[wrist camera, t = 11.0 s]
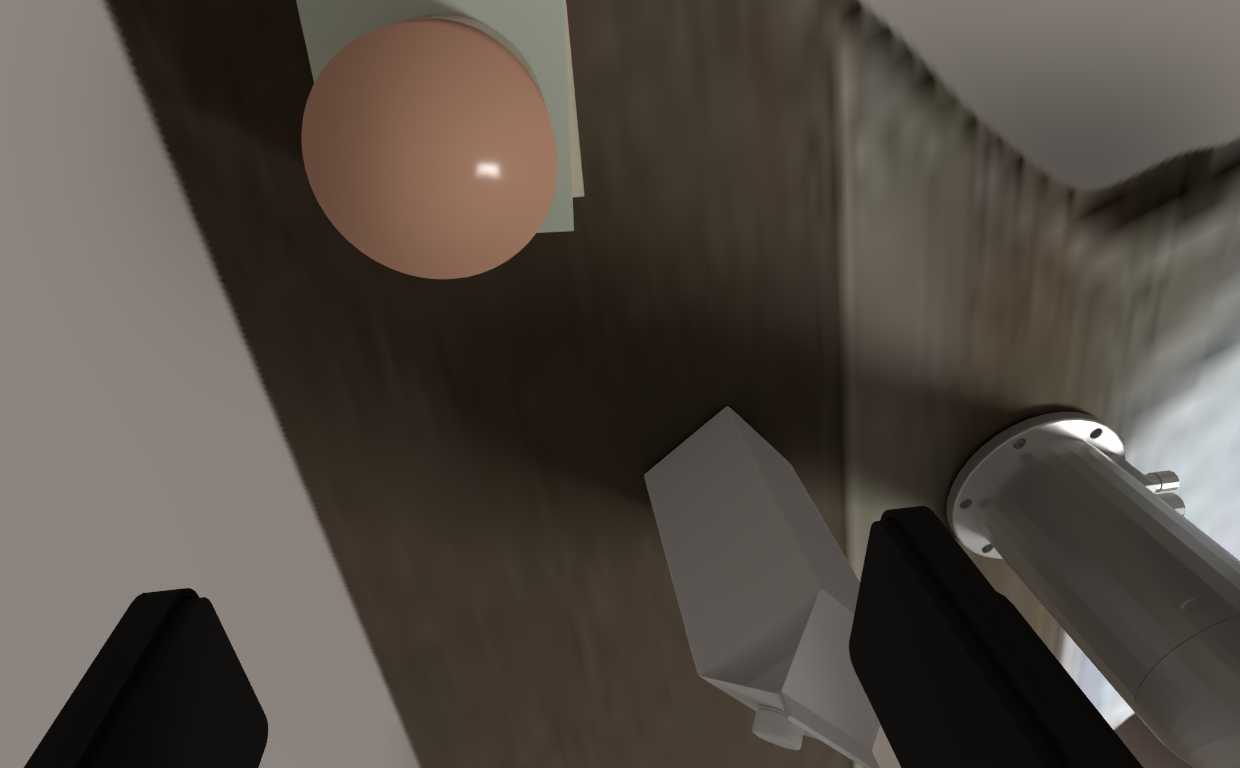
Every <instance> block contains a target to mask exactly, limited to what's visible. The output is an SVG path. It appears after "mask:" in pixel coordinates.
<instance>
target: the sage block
mask: <svg viewBox="0 0 1240 768" xmlns="http://www.w3.org/2000/svg"><path fill="white" fill-rule="evenodd" d="M296 2H297V7H298V11H299V16H300V20H301V25H302V30H303V34H304V39H305V43H306V48H307V52H308V57H309V62H310V66H311V71H312V75H313V80H314V83H315V81H316V80H317V78H318V76H319V75H320V73H321V71H322V70H323V69H324V67H325V66H326V65H327V64H328V63H329V61H330V60H331V59H332V58H333V57H334V56H335V55H336V54H337V53H338V52H339V51H340V50H342V49H343V48H344V47H345V46H346V45H348V44H349V43H351V42H353V41H354V40H356V39H357V38H359V37H360V36H363V35H365V34H367V33H370V32H372V31H374V30H377V29H380V28H383V27H387V26H390V25H394V24H397V23H401V22H404V21H408V20H411V19H415V18H418V17H422V16H426V15H434V14H454V15H459V16H465V17H468V18H471V19H474V20H477V21H480V22H482V23H484V24H486V25H488V26H490V27H492V28H493V29H495V30H496V31H498V32H499V33H501V34H502V35H503V36H505V37H506V38H507V39H508V40H509V41H510V42H512V43H513V44H514V46H515V47H516V48H517V49H518V50H519V51H520V52H521V53H522V55H523V56H524V58H525V59H526V60H527V62H528V63H529V65H530V67H531V68H532V70H533V72H534V74H535V76H536V78H537V81H538V83H539V86H540V89H541V92H542V95H543V99H544V102H545V105H546V109H547V112H548V115H549V119H550V122H551V126H552V129H553V133H554V137H555V142H556V150H557V180H556V187H555V192H554V195H553V199H552V203H551V206H550V208H549V210H548V213H547V215H546V218H545V219H544V221H543V223H542V225H541V226H540V228H539V230H538V231H537V232H536V233H543V232H563V231H574V219H573V196H572V174H571V151H570V129H569V106H568V83H567V61H566V38H565V15H564V0H296Z"/></svg>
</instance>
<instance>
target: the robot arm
mask: <svg viewBox="0 0 1240 768" xmlns="http://www.w3.org/2000/svg"><path fill="white" fill-rule="evenodd" d="M1178 487H1179V479H1178V476H1177V475H1176V474H1175V473H1174V472H1172V471H1170V470H1168V471H1161V472H1154V473H1148V474H1146V475H1143V474H1142V473H1141V472H1140V471H1138V470H1137V469H1136V468H1134V467H1133V466H1132V465H1131V464H1129V463H1128V462H1127V461H1125V450H1124V446H1123V442H1122V441H1121V439H1120V438H1119V436H1118V435H1117V433H1116V432H1115V431H1114V430H1112V429H1111V428H1110V427H1109V426H1107V425H1106V424H1105V423H1104V422H1102V421H1100V420H1099V419H1097V418H1095V417H1093V416H1091V415H1087V414H1084V413H1080V412H1064V411H1063V412H1056V413H1048V414H1044V415H1040V416H1037V417H1033V418H1030V419H1027V420H1025V421H1023V422H1020V423H1018V424H1016V425H1013V426H1011V427H1010V428H1008V429H1006V430H1005V431H1003V432H1001V433H1000V434H998V435H996V436H995V437H993V438H992V439H991V440H990V441H988V442H987V443H986V444H984V445H983V446H982V447H981V448H980V449H979V450H978V451H977V452H976V453H975V454H974V455H973V456H972V457H971V458H970V459H969V460H968V461H967V463H966V464H965V465H964V467H963V468H962V469H961V471H960V472H959V473H958V475H957V477H956V479H955V481H954V483H953V485H952V487H951V490H950V493H949V496H948V499H947V509H946V514H947V520H948V524H949V526H950V528H951V530H952V532H953V534H954V535H955V536H956V537H957V538H958V540H959V541H960V542H961V543H962V545H963V546H965V547H966V548H967V549H969V550H970V551H971V552H973V553H976V554H978V555H980V556H985V557H990V558H1003V559H1004V560H1005V561H1006V562H1007V564H1008V565H1009V566H1010V567H1011V568H1012V569H1013V571H1014V572H1015V573H1016V574H1017V575H1018V576H1019V578H1020V579H1021V580H1022V581H1023V582H1024V583H1025V585H1026V586H1027V587H1028V588H1029V589H1030V590H1031V592H1032V593H1033V594H1034V595H1035V596H1036V597H1037V599H1038V600H1039V601H1040V602H1041V603H1042V604H1043V606H1044V607H1045V608H1046V609H1047V610H1048V611H1049V613H1050V614H1051V615H1052V616H1053V617H1054V618H1055V620H1056V621H1057V622H1058V623H1059V624H1060V625H1061V627H1062V628H1063V629H1064V630H1065V631H1066V633H1067V634H1068V635H1069V636H1070V637H1071V638H1072V640H1073V641H1074V642H1075V643H1076V644H1077V645H1078V647H1079V648H1080V649H1081V650H1082V651H1083V652H1084V654H1085V655H1086V656H1087V657H1088V658H1089V659H1090V661H1091V662H1092V663H1093V664H1094V665H1095V666H1096V668H1097V669H1098V670H1099V671H1100V672H1101V673H1102V675H1103V676H1104V677H1105V678H1106V679H1107V680H1108V682H1109V683H1110V684H1111V685H1112V686H1113V687H1114V689H1115V690H1116V691H1117V692H1118V693H1119V694H1120V696H1121V697H1122V698H1123V699H1124V700H1125V701H1126V703H1127V704H1128V705H1129V706H1130V707H1131V708H1132V710H1133V711H1134V712H1135V713H1136V714H1137V715H1138V716H1139V717H1140V719H1141V720H1142V721H1143V722H1144V723H1145V724H1146V726H1147V727H1148V728H1149V729H1150V730H1151V731H1152V732H1153V734H1154V735H1155V736H1156V737H1157V738H1158V739H1159V740H1160V741H1161V742H1162V743H1163V744H1164V745H1165V746H1166V747H1167V748H1168V749H1169V750H1171V751H1172V752H1173V753H1174V754H1175V755H1177V756H1178V757H1179V758H1181V759H1182V760H1184V761H1185V762H1187V763H1188V764H1190V765H1191V766H1193V767H1194V768H1240V561H1239V560H1238V559H1237V558H1235V557H1234V556H1233V555H1231V554H1230V553H1229V552H1228V551H1226V550H1225V549H1224V548H1223V547H1221V546H1220V545H1219V544H1218V543H1216V542H1215V541H1214V540H1213V539H1211V538H1210V537H1209V536H1207V535H1206V534H1205V533H1204V532H1202V531H1201V530H1200V529H1199V528H1197V527H1196V526H1195V525H1194V524H1192V523H1191V522H1190V521H1189V520H1187V519H1186V518H1185V517H1184V514H1185V505H1184V503H1183V501H1182V499H1181V498H1180V497H1179V496H1178V495H1176V494H1174V493H1162V494H1154V493H1155V492H1163V491H1170V490H1176V489H1177V488H1178ZM849 654H850V659H851V663H852V666H853V668H854V671H855V673H856V675H857V677H858V679H859V681H860V683H861V685H862V687H863V689H864V691H865V693H866V695H867V697H868V699H869V702H870V704H871V706H872V708H873V710H874V712H875V714H876V716H877V718H878V720H879V722H880V724H881V726H882V728H883V730H884V733H885V735H886V737H887V739H888V741H889V743H890V745H891V747H892V749H893V751H894V753H895V755H896V757H897V759H898V761H899V764H900V766H901V768H1143V767H1142V766H1141V764H1140V763H1139V762H1138V761H1137V759H1136V758H1135V757H1134V755H1133V754H1132V753H1131V752H1130V750H1129V749H1128V748H1127V747H1126V746H1125V744H1124V743H1123V742H1122V740H1121V739H1120V738H1119V737H1118V735H1117V734H1116V733H1115V732H1114V730H1113V729H1112V728H1111V727H1110V725H1109V724H1108V723H1107V722H1106V720H1105V719H1104V718H1103V717H1102V715H1101V714H1100V713H1099V712H1098V710H1097V709H1096V708H1095V707H1094V705H1093V704H1092V703H1091V702H1090V700H1089V699H1088V698H1087V697H1086V695H1085V694H1084V693H1083V691H1082V690H1081V689H1080V688H1079V686H1078V685H1077V684H1076V683H1075V681H1074V680H1073V679H1072V678H1071V676H1070V675H1069V674H1068V673H1067V671H1066V670H1065V669H1064V668H1063V666H1062V665H1061V664H1060V663H1059V661H1058V660H1057V659H1056V658H1055V656H1054V655H1053V654H1052V653H1051V651H1050V650H1049V649H1048V648H1047V646H1046V645H1045V644H1044V643H1043V641H1042V640H1041V639H1040V638H1039V636H1038V635H1037V634H1036V633H1035V631H1034V630H1033V629H1032V628H1031V626H1030V625H1029V624H1028V623H1027V621H1026V620H1025V619H1024V617H1023V616H1022V615H1021V614H1020V612H1019V611H1018V610H1017V609H1016V607H1015V606H1014V605H1013V604H1012V603H1011V602H1010V601H1009V600H1008V599H1007V598H1006V597H1005V596H1003V595H1001V594H1000V593H998V592H996V591H995V590H994V588H993V587H992V586H991V585H990V583H989V582H988V581H987V579H986V578H985V577H984V576H983V574H982V573H981V572H980V571H979V569H978V568H977V567H976V565H975V564H974V563H973V562H972V560H971V559H970V558H969V557H968V555H967V554H966V553H965V551H964V550H963V549H962V548H961V546H960V545H959V544H958V543H957V541H956V540H955V539H954V537H953V536H952V535H951V534H950V532H949V531H948V530H947V529H946V527H945V526H944V525H943V523H942V522H941V521H940V520H939V518H938V517H937V516H936V515H935V513H934V512H933V511H932V510H931V509H930V508H928V507H926V506H918V507H909V508H900V509H891V510H886V511H885V512H884V513H883V514H882V517H881V520H880V521H876V522H874V523H873V524H872V526H871V529H870V535H869V540H868V545H867V550H866V556H865V561H864V566H863V571H862V577H861V582H860V587H859V592H858V598H857V603H856V608H855V613H854V619H853V624H852V629H851V634H850V640H849ZM267 738H268V723H267V718H266V715H265V713H264V711H263V709H262V707H261V705H260V703H259V701H258V699H257V697H256V695H255V693H254V690H253V689H252V686H251V685H250V682H249V681H248V678H247V676H246V674H245V672H244V670H243V668H242V666H241V663H240V661H239V659H238V657H237V655H236V653H235V651H234V649H233V647H232V645H231V643H230V641H229V639H228V637H227V635H226V633H225V630H224V628H223V626H222V624H221V622H220V620H219V618H218V616H217V614H216V612H215V610H214V607H213V605H212V604H211V602H210V600H209V599H207V598H205V597H203V598H199V596H198V595H197V593H196V592H195V591H194V590H192V589H190V588H186V589H176V590H167V591H158V592H149V593H142V594H141V595H139V596H138V597H136V598H135V600H134V601H133V602H132V603H131V604H130V606H129V608H128V609H127V611H126V612H125V614H124V615H123V617H122V618H121V620H120V621H119V623H118V624H117V626H116V627H115V629H114V630H113V632H112V634H111V635H110V637H109V638H108V640H107V641H106V643H105V644H104V646H103V647H102V649H101V650H100V652H99V654H98V655H97V657H96V658H95V660H94V661H93V663H92V664H91V666H90V667H89V669H88V670H87V672H86V673H85V675H84V676H83V678H82V679H81V681H80V682H79V684H78V686H77V687H76V689H75V690H74V692H73V693H72V695H71V696H70V698H69V700H68V701H67V702H66V704H65V705H64V707H63V709H62V710H61V712H60V713H59V715H58V716H57V718H56V719H55V721H54V722H53V724H52V725H51V727H50V729H49V730H48V732H47V733H46V735H45V736H44V738H43V739H42V741H41V742H40V744H39V745H38V747H37V749H36V750H35V752H34V753H33V754H32V756H31V757H30V759H29V761H28V762H27V764H26V765H25V767H24V768H258V767H259V764H260V761H261V758H262V755H263V753H264V749H265V747H266V743H267Z"/></svg>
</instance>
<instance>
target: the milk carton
mask: <svg viewBox="0 0 1240 768" xmlns="http://www.w3.org/2000/svg"><path fill="white" fill-rule="evenodd" d="M644 478H645V482H646V486H647V490H648V493H649V497H650V501H651V504H652V508H653V512H654V515H655V519H656V523H657V527H658V530H659V534H660V538H661V541H662V545H663V549H664V552H665V556H666V560H667V563H668V567H669V571H670V575H671V578H672V582H673V586H674V589H675V593H676V597H677V600H678V604H679V608H680V612H681V615H682V619H683V623H684V626H685V630H686V634H687V637H688V641H689V645H690V649H691V652H692V656H693V659H694V663H695V666H696V669H697V672H698V675H699V676H700V677H702V678H703V679H705V680H706V681H708V682H709V683H711V684H713V685H714V686H716V687H718V688H719V689H721V690H723V691H724V692H726V693H727V694H729V695H731V696H732V697H734V698H735V699H737V700H739V701H740V702H742V703H744V704H745V705H747V706H749V707H750V708H752V709H753V710H755V711H756V714H755V720H754V722H753V726H752V732H753V733H754V734H755V735H757V736H758V737H760V738H762V739H764V740H766V741H768V742H771V743H773V744H776V745H778V746H781V747H784V748H788V749H792V750H799V749H800V748H801V744H802V736H803V735H806V736H809V737H813V738H817V739H819V740H821V741H823V742H824V743H826V744H827V745H829V746H831V747H832V748H834V749H835V750H837V751H839V752H840V753H842V754H843V755H845V756H847V757H848V758H850V759H851V760H853V761H855V762H856V763H858V764H859V765H861V766H862V767H864V768H879V766H878V763H877V761H876V759H875V757H874V755H873V753H872V748H873V745H874V742H875V739H876V736H877V732H878V729H879V726H880V722H879V720H878V718H877V716H876V714H875V712H874V710H873V708H872V706H871V704H870V702H869V699H868V697H867V695H866V693H865V691H864V689H863V687H862V685H861V683H860V681H859V679H858V677H857V675H856V673H855V671H854V668H853V666H852V663H851V659H850V654H849V640H850V634H851V629H852V624H853V619H854V613H855V608H856V603H857V598H858V592H859V587H860V582H859V580H858V578H857V577H856V575H855V573H854V571H853V570H852V568H851V566H850V565H849V563H848V561H847V559H846V558H845V556H844V554H843V553H842V551H841V549H840V547H839V546H838V544H837V542H836V541H835V539H834V537H833V535H832V534H831V532H830V530H829V529H828V527H827V525H826V523H825V522H824V520H823V518H822V517H821V515H820V513H819V511H818V510H817V508H816V506H815V505H814V503H813V501H812V499H811V498H810V496H809V494H808V493H807V491H806V489H805V487H804V486H803V484H802V482H801V481H800V479H799V477H798V475H797V474H796V472H795V470H794V469H793V467H792V465H791V464H790V463H789V462H788V461H787V460H786V459H785V458H784V457H783V456H782V455H781V454H780V453H779V452H778V451H777V450H775V449H774V448H773V447H772V446H771V445H770V444H769V443H768V442H767V441H766V440H765V439H764V438H763V437H761V436H760V435H759V434H758V433H757V432H756V431H755V430H754V429H753V428H752V427H751V426H750V425H749V424H747V423H746V422H745V421H744V420H743V419H742V418H741V417H740V416H739V415H738V414H737V413H736V412H735V411H733V410H732V409H731V408H730V407H728V406H726V407H725V408H724V409H722V410H721V411H720V412H719V413H718V414H716V415H715V416H714V417H713V418H711V419H710V420H709V421H708V422H707V423H705V424H704V425H703V426H702V427H701V428H699V429H698V430H697V431H696V432H695V433H693V434H692V435H691V436H690V437H689V438H687V439H686V440H685V441H684V442H683V443H681V444H680V445H679V446H678V447H677V448H675V449H674V450H673V451H672V452H671V453H669V454H668V455H667V456H666V457H665V458H663V459H662V460H661V461H660V462H659V463H657V464H656V465H655V466H654V467H653V468H651V469H650V470H649V471H648V472H647V473H645V474H644Z"/></svg>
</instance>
